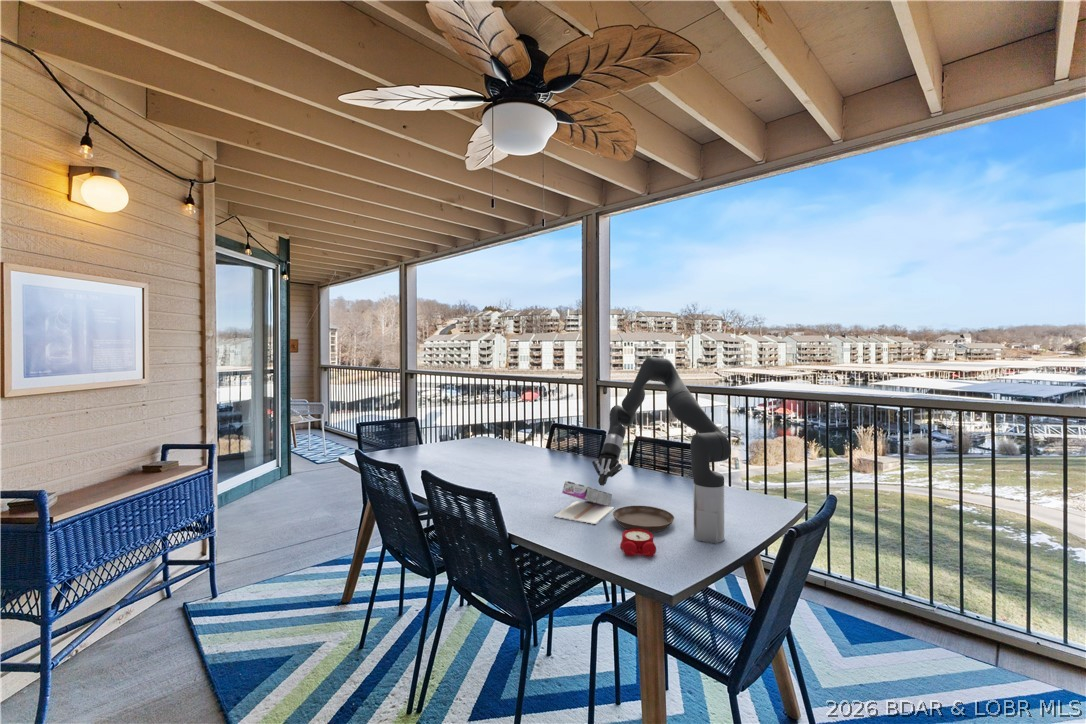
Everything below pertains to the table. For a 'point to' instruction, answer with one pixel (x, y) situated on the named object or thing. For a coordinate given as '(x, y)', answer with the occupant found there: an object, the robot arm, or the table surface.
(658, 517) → the plant saucer
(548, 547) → the table surface
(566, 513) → the card
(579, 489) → the candy bar box
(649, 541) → the alarm clock
